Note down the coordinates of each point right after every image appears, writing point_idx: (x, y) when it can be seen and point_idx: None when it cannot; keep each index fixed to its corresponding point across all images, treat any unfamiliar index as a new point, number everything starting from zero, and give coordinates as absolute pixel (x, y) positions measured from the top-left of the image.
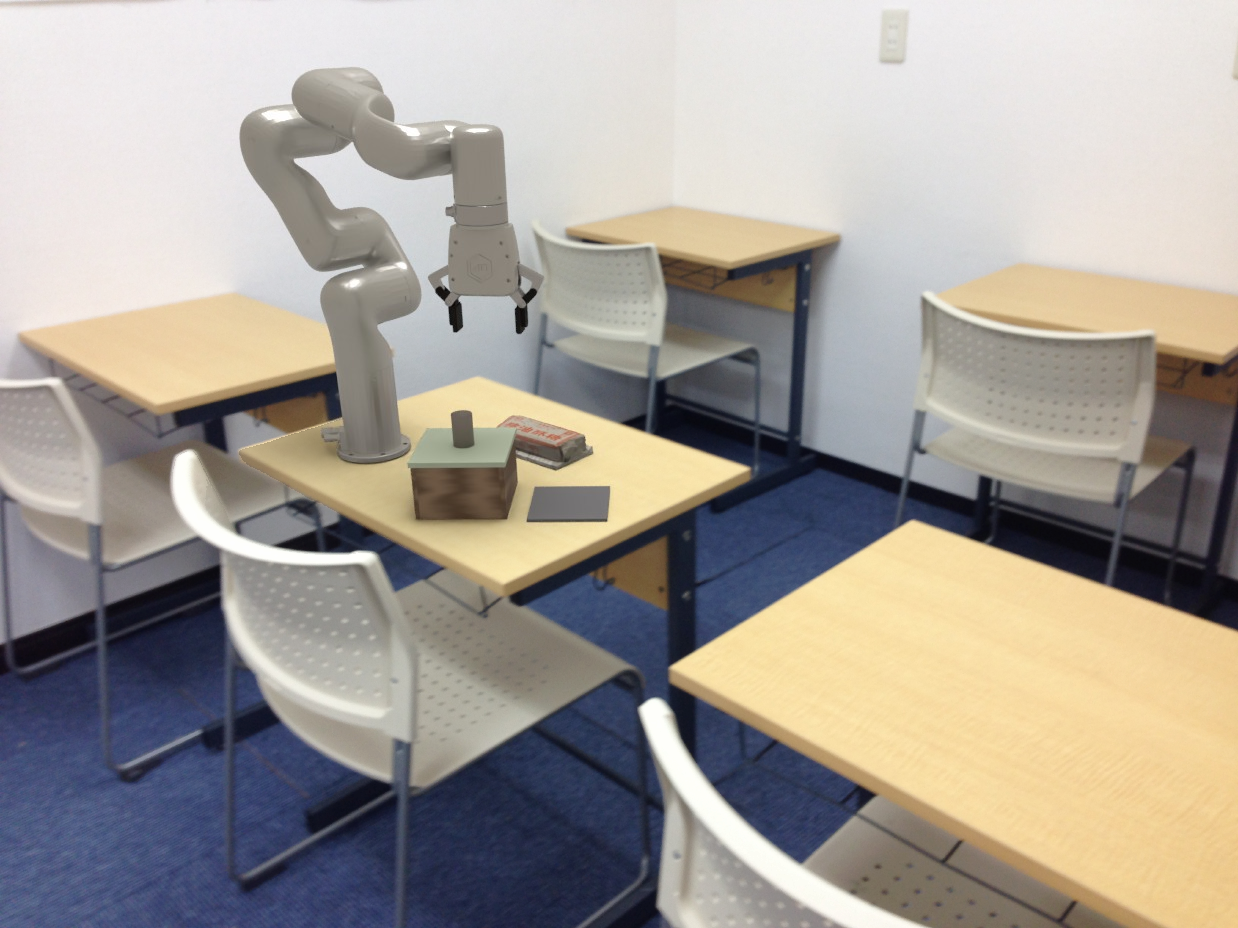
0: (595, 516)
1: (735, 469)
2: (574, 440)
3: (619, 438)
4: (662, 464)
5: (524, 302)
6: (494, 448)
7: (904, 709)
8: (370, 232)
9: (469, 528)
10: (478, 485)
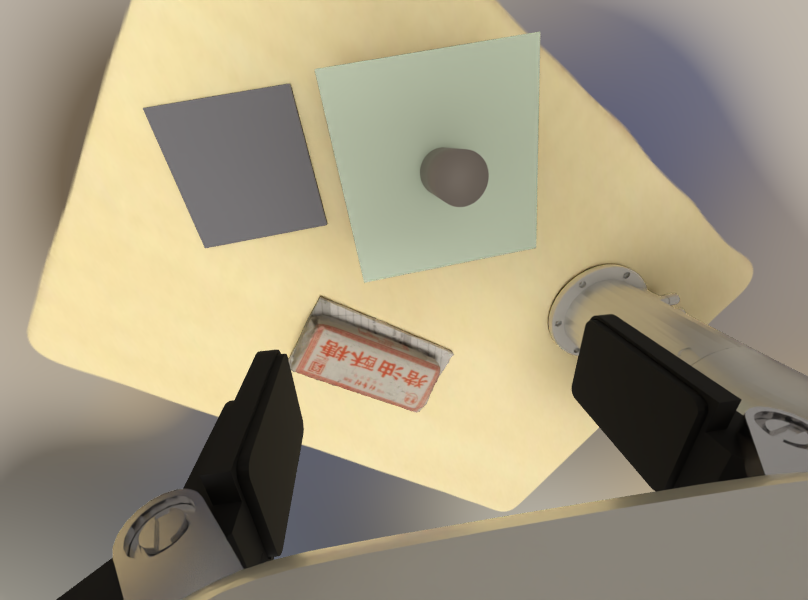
0: (169, 116)
1: (39, 350)
2: (301, 351)
3: None
4: (166, 345)
5: (123, 547)
6: (369, 157)
7: None
8: None
9: (381, 38)
10: None
